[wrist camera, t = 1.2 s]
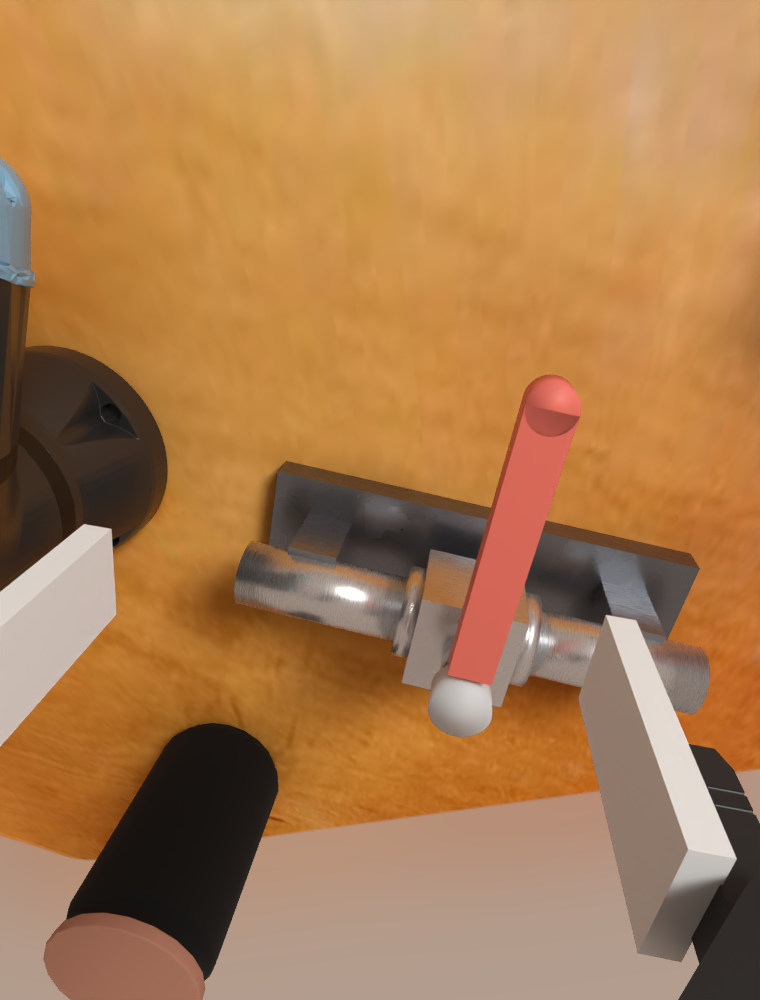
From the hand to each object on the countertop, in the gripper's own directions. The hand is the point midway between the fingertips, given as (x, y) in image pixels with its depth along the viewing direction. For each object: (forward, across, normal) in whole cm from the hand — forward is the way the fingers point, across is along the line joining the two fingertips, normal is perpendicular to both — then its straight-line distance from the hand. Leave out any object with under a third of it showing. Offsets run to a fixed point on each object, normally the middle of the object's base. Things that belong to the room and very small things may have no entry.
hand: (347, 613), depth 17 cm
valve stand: (+26, +6, -13) cm, 30 cm away
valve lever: (+13, +6, -5) cm, 15 cm away
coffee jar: (+27, -12, -37) cm, 47 cm away
